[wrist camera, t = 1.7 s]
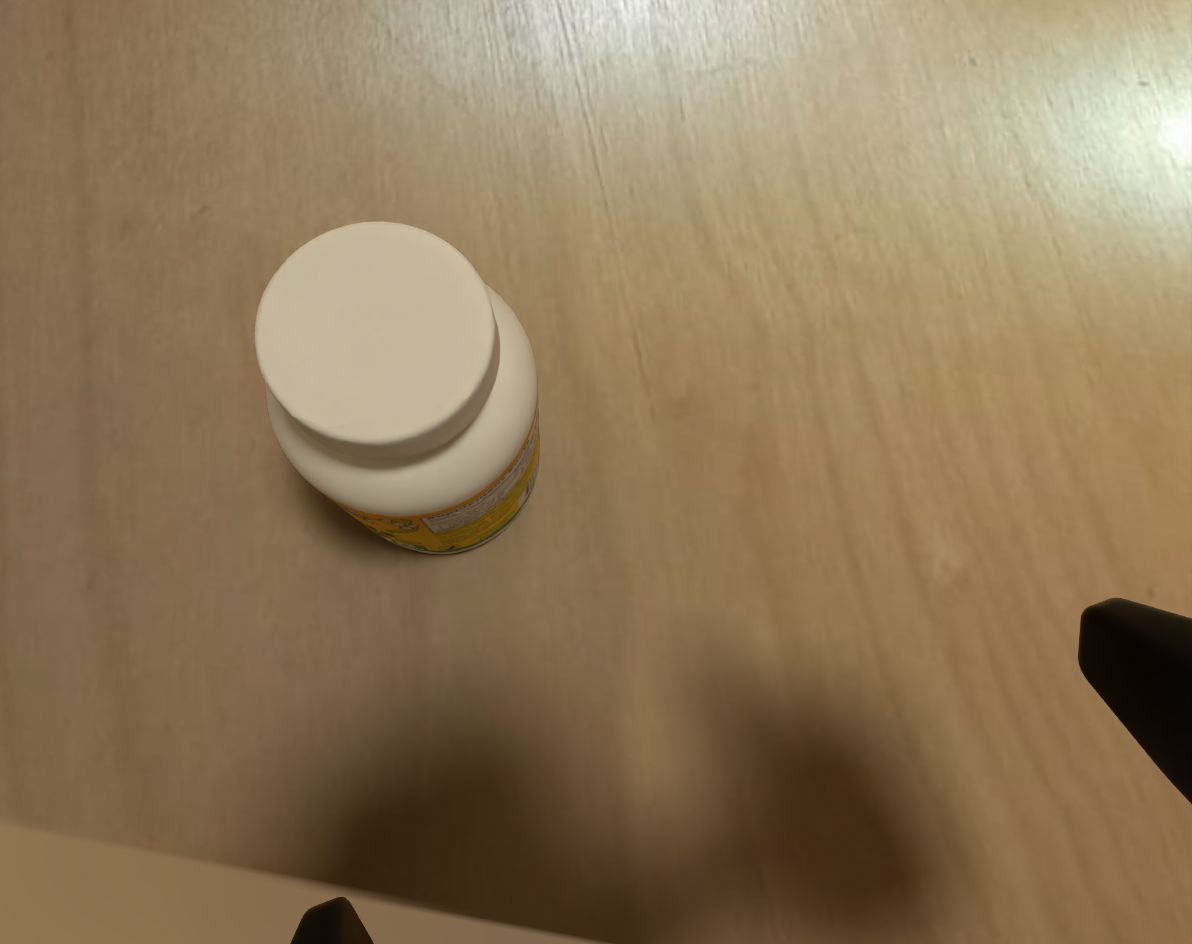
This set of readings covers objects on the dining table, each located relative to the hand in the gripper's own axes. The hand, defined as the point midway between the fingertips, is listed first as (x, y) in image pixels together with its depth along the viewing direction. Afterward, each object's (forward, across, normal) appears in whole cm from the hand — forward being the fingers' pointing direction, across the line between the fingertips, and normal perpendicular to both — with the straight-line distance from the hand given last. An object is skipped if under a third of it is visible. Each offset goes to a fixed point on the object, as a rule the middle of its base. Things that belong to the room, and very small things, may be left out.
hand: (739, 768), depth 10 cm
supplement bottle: (+15, +2, +2) cm, 16 cm away
